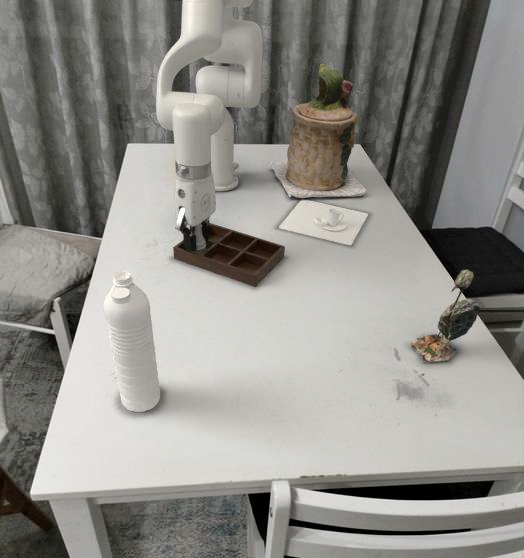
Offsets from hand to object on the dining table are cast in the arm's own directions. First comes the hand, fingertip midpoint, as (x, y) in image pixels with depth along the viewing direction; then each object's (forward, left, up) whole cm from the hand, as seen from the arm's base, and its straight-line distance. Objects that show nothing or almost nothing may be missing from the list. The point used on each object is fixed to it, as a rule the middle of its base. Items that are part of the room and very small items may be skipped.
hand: (196, 243), depth 118 cm
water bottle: (+45, +18, -4) cm, 48 cm away
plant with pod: (+4, +59, -4) cm, 59 cm away
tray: (-3, +7, -3) cm, 9 cm away
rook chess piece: (0, 0, -1) cm, 1 cm away
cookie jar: (-56, +7, -3) cm, 57 cm away
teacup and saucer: (-34, +19, -4) cm, 40 cm away
